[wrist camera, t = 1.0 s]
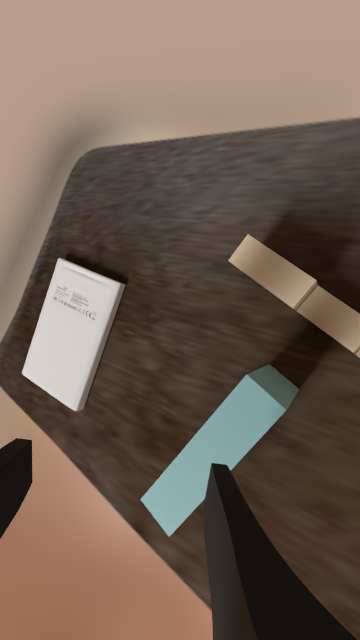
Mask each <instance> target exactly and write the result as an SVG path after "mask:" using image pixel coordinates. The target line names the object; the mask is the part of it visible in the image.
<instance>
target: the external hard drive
mask: <svg viewBox="0 0 360 640" xmlns="http://www.w3.org/2000/svg"><path fill="white" fill-rule="evenodd" d="M124 288H125V284H122V283H120V282H117V281H115V280H113V279H110V278H108V277H105V276H103V275H101V274H98V273H95V272H93V271H90V270H88V269H86V268H84V267H81V266H79V265H77V264H74V263H72V262H69V261H67V260H65V259H61V258H58V261H57V264H56V267H55V271H54V274H53V277H52V280H51V283H50V286H49V289H48V292H47V296H46V299H45V302H44V305H43V308H42V311H41V314H40V317H39V321H38V324H37V327H36V330H35V333H34V336H33V339H32V342H31V346H30V349H29V352H28V355H27V358H26V362H25V365H24V368H23V371H22V374H23V375H24V376H25V377H27V378H28V379H30V380H31V381H32V382H34V383H35V384H37V385H38V386H40V387H41V388H42V389H44V390H45V391H47V392H48V393H49V394H51V395H52V396H53V397H55V398H56V399H58V400H59V401H61V402H62V403H63V404H65V405H66V406H68V407H69V408H71V409H72V410H74V411H79V410H83V409H84V406H85V403H86V400H87V397H88V394H89V391H90V388H91V385H92V382H93V379H94V376H95V373H96V370H97V367H98V364H99V362H100V359H101V356H102V353H103V350H104V347H105V344H106V341H107V338H108V335H109V332H110V329H111V326H112V323H113V320H114V318H115V315H116V312H117V309H118V306H119V303H120V300H121V297H122V294H123V291H124Z"/></svg>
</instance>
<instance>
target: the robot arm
mask: <svg viewBox="0 0 360 640" xmlns="http://www.w3.org/2000/svg"><path fill="white" fill-rule="evenodd" d="M31 484H32V441H31V440H26V439H17V438H16V439H15V440H13V441H12V442H10V443H8V444H7V445H5V446H4V447H2V448H1V449H0V538H1V537H2V535H3V534H4V532H5V530H6V529H7V527H8V526H9V524H10V523H11V521H12V519H13V518H14V516H15V515H16V513H17V512H18V510H19V508H20V506H21V504H22V502H23V500H24V498H25V496H26V494H27V492H28V490H29V488H30V486H31ZM204 535H205V545H206V555H207V565H208V574H209V584H210V593H211V604H212V620H213V640H357V639H356V638H355V637H354V636H353V635H352V634H351V633H350V632H348V631H347V630H346V629H345V628H344V627H343V626H342V625H341V624H340V623H339V622H338V621H337V620H336V619H335V618H334V617H333V616H332V615H331V614H330V613H329V612H328V611H327V610H326V608H325V607H324V606H323V605H322V604H321V603H320V602H319V601H318V600H317V599H316V598H315V597H314V595H313V594H312V593H311V592H310V591H309V590H308V589H307V587H306V586H305V585H304V584H303V583H302V582H301V580H300V579H299V578H298V577H297V576H296V575H295V573H294V572H293V571H292V570H291V568H290V567H289V566H288V565H287V563H286V562H285V561H284V559H283V558H282V557H281V555H280V554H279V553H278V551H277V550H276V548H275V547H274V546H273V544H272V543H271V541H270V540H269V538H268V537H267V535H266V534H265V532H264V531H263V529H262V528H261V526H260V525H259V523H258V521H257V520H256V518H255V516H254V515H253V513H252V511H251V510H250V508H249V506H248V504H247V503H246V501H245V499H244V497H243V495H242V494H241V492H240V490H239V488H238V486H237V484H236V482H235V480H234V478H233V476H232V473H231V471H230V469H229V467H228V466H227V465H225V464H217V463H211V468H210V474H209V479H208V485H207V490H206V496H205V501H204Z"/></svg>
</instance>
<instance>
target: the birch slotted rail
mask: <svg viewBox="0 0 360 640" xmlns="http://www.w3.org/2000/svg"><path fill="white" fill-rule="evenodd" d="M228 261H229V262H230V263H232V264H233V265H234V266H236V267H237V268H239V269H240V270H241V271H243V272H244V273H245V274H247V275H248V276H249V277H251V278H252V279H254V280H255V281H256V282H258V283H259V284H260V285H262V286H263V287H264V288H266V289H267V290H268V291H270V292H271V293H273V294H274V295H275V296H277V297H278V298H279V299H281V300H282V301H283V302H285V303H286V304H287V305H289V306H290V307H292V308H293V309H294V310H296V311H297V312H298V313H300V314H301V315H303V316H304V317H305V318H307V319H308V320H309V321H311V322H312V323H313V324H315V325H316V326H317V327H319V328H320V329H322V330H323V331H324V332H326V333H327V334H328V335H330V336H331V337H332V338H334V339H335V340H337V341H338V342H339V343H341V344H342V345H343V346H345V347H346V348H347V349H349V350H350V351H351V352H353V353H354V354H355V355H357V356H358V357H360V314H359V313H358V312H356V311H355V310H353V309H352V308H350V307H349V306H347V305H346V304H344V303H343V302H342V301H340V300H339V299H337V298H336V297H334V296H333V295H331V294H330V293H328V292H327V291H325V290H324V289H322V288H321V287H319V286H318V284H317V280H315V279H314V278H312V277H311V276H309V275H308V274H306V273H305V272H303V271H302V270H300V269H299V268H297V267H296V266H295V265H293V264H292V263H290V262H289V261H287V260H286V259H284V258H283V257H281V256H280V255H278V254H277V253H275V252H274V251H272V250H271V249H269V248H268V247H266V246H265V245H263V244H262V243H260V242H259V241H257V240H256V239H254V238H253V237H251V236H250V235H247V236H246V237H245V239H244V240H243V241H242V243H241V244H240V245H239V247H238V248H237V249H236V251H235V252H234V254H233V255H232V256H231V258H230V259H229V260H228Z"/></svg>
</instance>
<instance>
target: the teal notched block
mask: <svg viewBox="0 0 360 640" xmlns="http://www.w3.org/2000/svg"><path fill="white" fill-rule="evenodd" d="M298 391H299V389H298V388H297V387H296V386H295V385H294V384H292V383H291V382H290V381H289V380H288V379H287V378H285V377H284V376H283V375H282V374H281V373H279V372H278V371H277V370H276V369H275V368H274V367H272V366H271V365H270V364H269V365H267V366H264V367H262V368H260V369H258V370H255V371H253V372H251V373H249V374H247V375H246V376H245V377H244V378H243V379H242V380H241V382H240V383H239V384H238V385H237V386H236V388H235V389H234V390H233V391H232V392H231V393H230V395H229V396H228V397H227V398H226V399H225V401H224V402H223V403H222V404H221V405H220V406H219V408H218V409H217V410H216V411H215V412H214V414H213V415H212V416H211V417H210V418H209V419H208V421H207V422H206V423H205V424H204V425H203V426H202V428H201V429H200V430H199V431H198V432H197V434H196V435H195V436H194V437H193V438H192V439H191V441H190V442H189V443H188V444H187V445H186V447H185V448H184V449H183V450H182V451H181V452H180V454H179V455H178V456H177V457H176V458H175V460H174V461H173V462H172V463H171V464H170V465H169V467H168V468H167V469H166V470H165V471H164V472H163V474H162V475H161V476H160V477H159V478H158V480H157V481H156V482H155V483H154V484H153V485H152V487H151V488H150V489H149V490H148V491H147V493H146V494H145V495H144V496H143V497H142V498H141V501H142V502H143V503H144V505H145V506H146V507H147V509H148V510H149V511H150V513H151V514H152V515H153V516H154V518H155V519H156V520H157V522H158V523H159V524H160V526H161V527H162V528H163V530H164V531H165V532H166V533H167V535H168V536H169V537H170V535H171V534H172V533H173V532H174V531H175V530H176V529H177V528H178V527H179V526H180V525H181V524H182V523H183V521H184V520H185V519H186V518H187V517H188V516H189V515H190V514H191V513H192V512H193V511H194V510H195V508H196V507H197V506H198V505H199V504H200V503H201V502H202V501H203V500H204V499H205V496H206V490H207V485H208V479H209V474H210V468H211V463H217V464H225V465H227V466H228V467H229V469H230V471H231V470H232V468H233V467H234V466H235V465H236V464H237V463H238V462H239V461H240V460H241V459H242V458H243V457H244V455H245V454H246V453H247V452H248V451H249V450H250V449H251V448H252V447H253V446H254V445H255V444H256V443H257V441H258V440H259V439H260V438H261V437H262V436H263V435H264V434H265V433H266V432H267V431H268V430H269V428H270V427H271V426H272V425H273V424H274V423H275V422H276V421H277V420H278V419H279V418H280V417H281V416H282V414H283V413H284V412H285V411H286V410H287V408H288V407H289V405H290V404H291V402H292V400H293V399H294V397H295V395H296V394H297V392H298Z"/></svg>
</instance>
